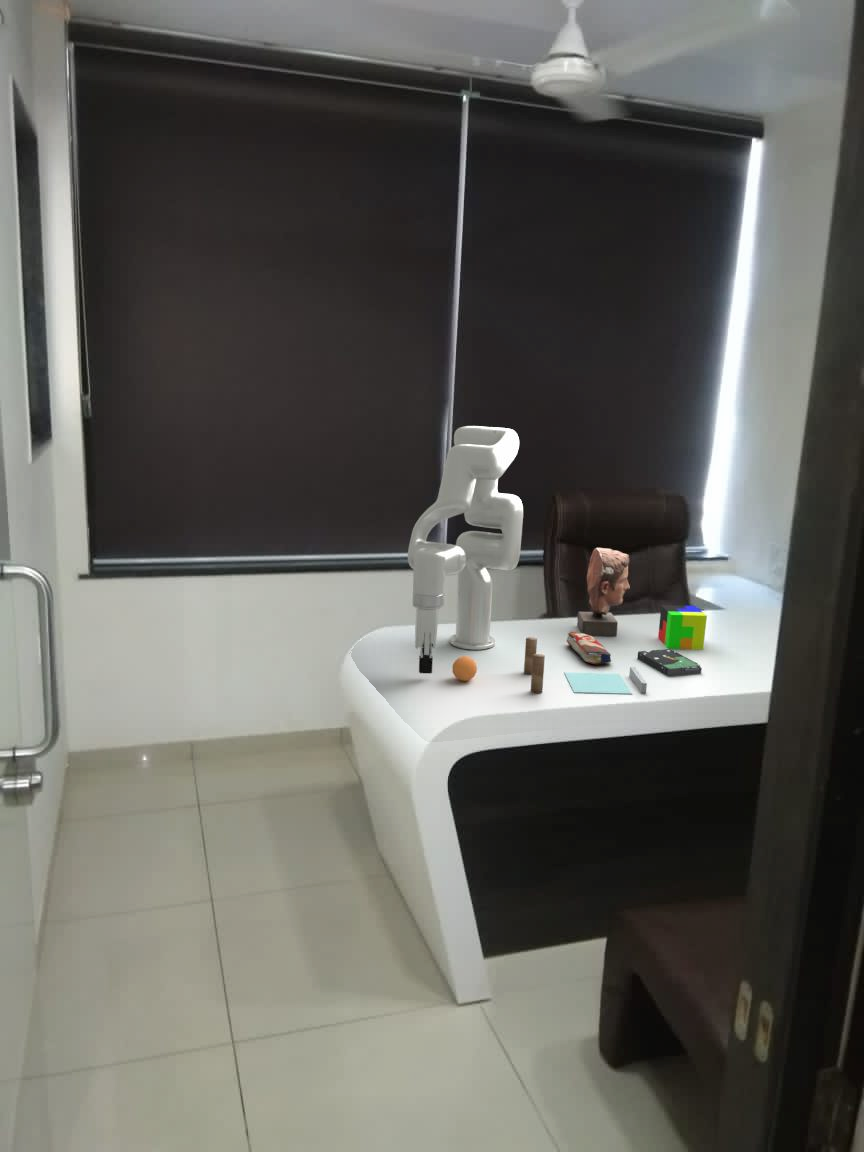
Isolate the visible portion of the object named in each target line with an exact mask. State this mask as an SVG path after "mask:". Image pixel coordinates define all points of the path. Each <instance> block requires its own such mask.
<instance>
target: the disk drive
mask: <svg viewBox="0 0 864 1152" xmlns="http://www.w3.org/2000/svg"><path fill="white" fill-rule="evenodd" d="M637 660H638V661H641V663H644V664H646V665H647V666H649V667H651V668H653V669H654V670H656V671H657V672H660V673H661V674H663V675H664V676H666V677H668V678H669V677H678V676H689V675H691V676H692V675H699V674H702V669H703V668H702V667H701V664H699V663H698V662H695V661H694V660H691V659H690V658H688V657H686V656H684V655H682V654H680V653H679V652H676V651H674V649H668V648H665V649H664V648H663V649H652V650H650V651H646V650H640V651H639V650H638V651H637Z"/></svg>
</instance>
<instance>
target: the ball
mask: <svg viewBox="0 0 864 1152" xmlns="http://www.w3.org/2000/svg"><path fill="white" fill-rule="evenodd" d="M451 668H452V673H453V675H454V676H455V678H456V679H457V680H459V681H461V682H468V681H471V679H474V677H475V676H476V674H477V671H478V666H477V663H476V661H475V660H474V659H473V658H471V656H465V655H463V656H459V657H458V658H456V659H455V660H454V662H453V664H452V667H451Z"/></svg>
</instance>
